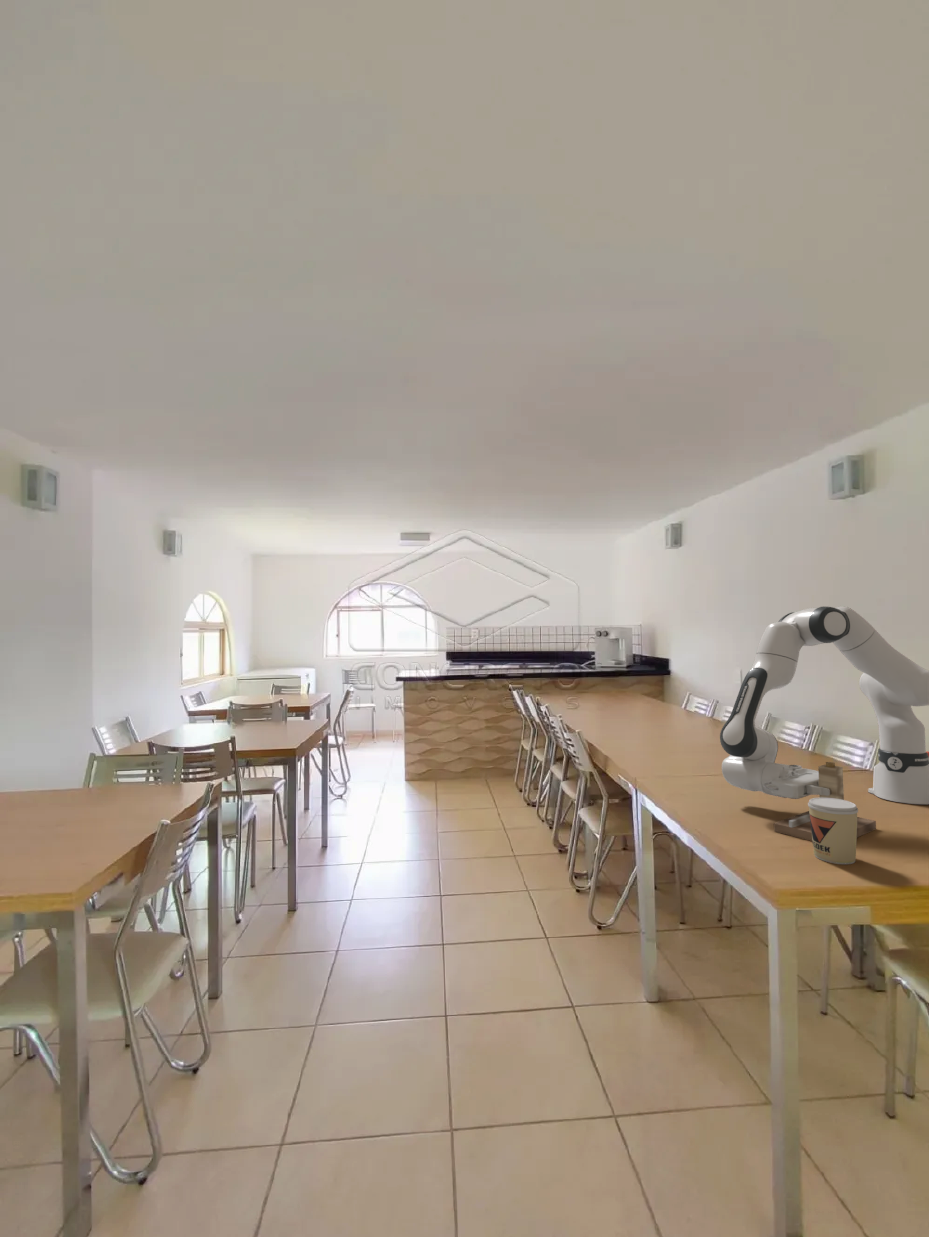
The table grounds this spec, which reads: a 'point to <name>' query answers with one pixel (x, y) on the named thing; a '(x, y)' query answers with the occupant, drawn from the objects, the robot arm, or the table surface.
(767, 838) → the table surface
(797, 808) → the table surface
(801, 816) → the board
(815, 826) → the coffee cup
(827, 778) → the beige tall block
